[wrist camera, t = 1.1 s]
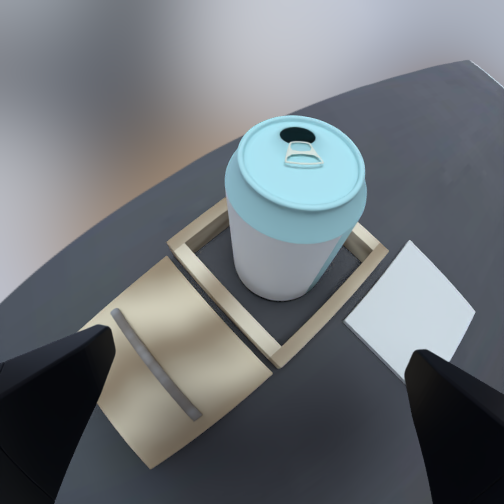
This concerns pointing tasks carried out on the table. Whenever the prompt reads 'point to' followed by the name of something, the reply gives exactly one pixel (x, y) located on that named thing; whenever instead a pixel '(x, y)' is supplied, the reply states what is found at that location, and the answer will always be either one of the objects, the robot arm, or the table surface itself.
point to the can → (292, 203)
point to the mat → (410, 312)
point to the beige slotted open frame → (196, 343)
